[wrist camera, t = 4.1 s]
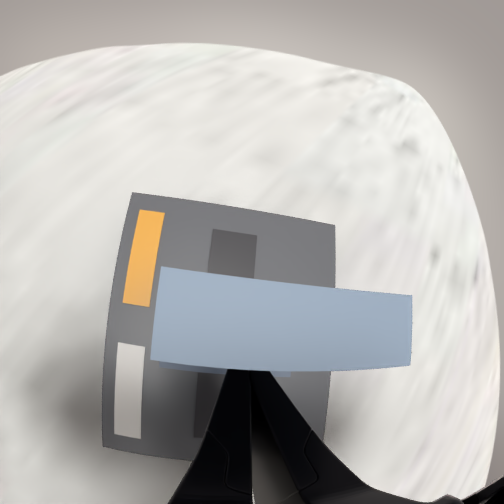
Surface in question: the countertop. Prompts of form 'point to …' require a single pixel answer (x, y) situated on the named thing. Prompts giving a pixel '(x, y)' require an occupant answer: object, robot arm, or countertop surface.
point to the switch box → (144, 302)
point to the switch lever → (275, 326)
